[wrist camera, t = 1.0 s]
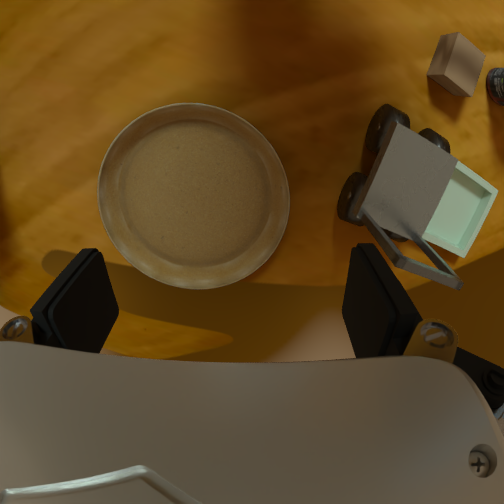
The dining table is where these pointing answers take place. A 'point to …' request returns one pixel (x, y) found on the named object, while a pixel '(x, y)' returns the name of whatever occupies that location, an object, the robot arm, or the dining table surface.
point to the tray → (460, 211)
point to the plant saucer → (193, 196)
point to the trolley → (401, 190)
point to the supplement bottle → (496, 85)
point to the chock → (456, 64)
